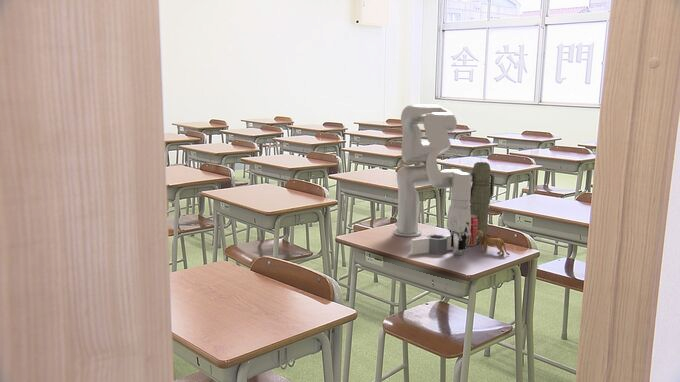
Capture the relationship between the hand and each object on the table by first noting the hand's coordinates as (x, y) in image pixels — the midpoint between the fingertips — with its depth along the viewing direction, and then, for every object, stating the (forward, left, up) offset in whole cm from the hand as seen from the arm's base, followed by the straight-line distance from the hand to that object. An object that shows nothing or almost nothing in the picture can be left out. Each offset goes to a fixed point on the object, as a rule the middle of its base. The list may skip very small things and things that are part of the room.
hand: (458, 247), depth 228 cm
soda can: (-12, +15, -3) cm, 19 cm away
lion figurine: (+2, +15, -4) cm, 15 cm away
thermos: (-15, +22, -3) cm, 27 cm away
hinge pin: (0, 0, -3) cm, 3 cm away
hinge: (-9, -4, -3) cm, 10 cm away
